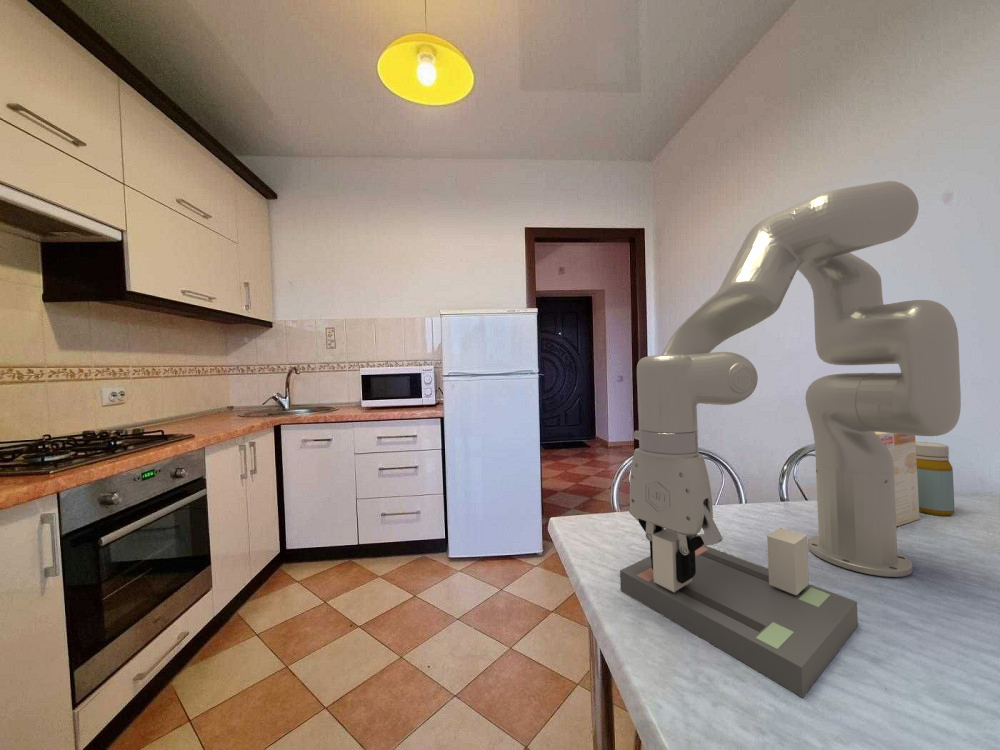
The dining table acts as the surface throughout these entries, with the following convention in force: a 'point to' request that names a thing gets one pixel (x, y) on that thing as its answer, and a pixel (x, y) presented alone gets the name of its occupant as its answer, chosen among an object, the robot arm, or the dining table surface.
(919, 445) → the bottle
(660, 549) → the block
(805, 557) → the block
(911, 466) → the coffeecake box
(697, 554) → the breaker panel
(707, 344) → the robot arm
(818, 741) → the dining table surface
